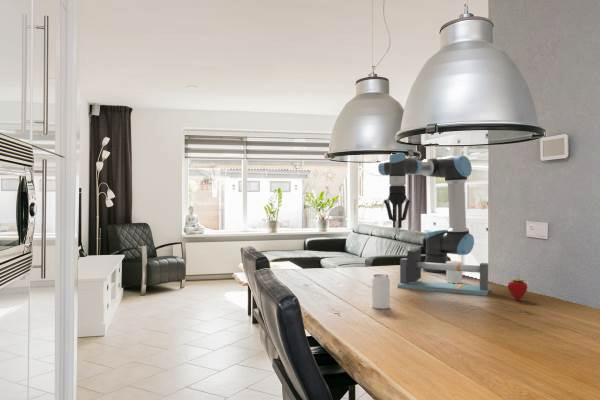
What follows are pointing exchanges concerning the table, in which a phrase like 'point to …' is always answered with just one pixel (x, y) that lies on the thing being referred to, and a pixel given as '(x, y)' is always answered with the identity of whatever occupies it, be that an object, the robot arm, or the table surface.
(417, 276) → the dark grey square plate
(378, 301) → the can
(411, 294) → the table surface
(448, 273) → the white cup
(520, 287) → the strawberry
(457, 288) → the pipe stand
